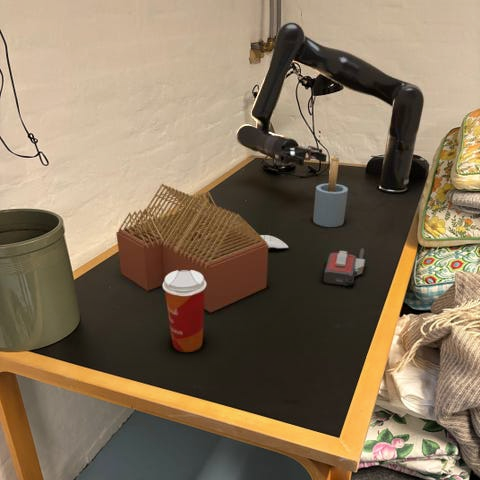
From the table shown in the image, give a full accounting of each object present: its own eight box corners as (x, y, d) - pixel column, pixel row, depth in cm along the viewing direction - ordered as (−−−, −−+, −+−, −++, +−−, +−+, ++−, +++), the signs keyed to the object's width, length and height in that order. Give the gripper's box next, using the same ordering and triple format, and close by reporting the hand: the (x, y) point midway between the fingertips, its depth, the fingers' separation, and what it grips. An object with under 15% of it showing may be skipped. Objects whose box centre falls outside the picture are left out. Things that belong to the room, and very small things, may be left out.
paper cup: (168, 333, 98) (163, 268, 90) (207, 331, 98) (205, 267, 91) (166, 356, 91) (160, 289, 84) (208, 355, 92) (206, 288, 84)
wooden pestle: (321, 215, 151) (327, 153, 141) (336, 216, 150) (344, 154, 140) (319, 220, 147) (326, 157, 137) (335, 222, 146) (343, 158, 137)
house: (120, 272, 119) (110, 193, 109) (197, 246, 133) (194, 173, 122) (193, 320, 102) (189, 231, 92) (273, 284, 115) (277, 203, 105)
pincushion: (289, 244, 134) (290, 224, 131) (287, 254, 129) (288, 233, 126) (244, 241, 136) (245, 221, 133) (241, 250, 131) (241, 230, 128)
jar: (314, 214, 153) (317, 182, 148) (344, 217, 152) (348, 184, 147) (311, 225, 146) (314, 191, 141) (343, 228, 144) (347, 194, 139)
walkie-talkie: (360, 290, 113) (366, 254, 129) (363, 273, 111) (368, 238, 127) (321, 285, 115) (332, 250, 131) (323, 268, 113) (333, 234, 129)
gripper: (263, 138, 153) (296, 150, 141) (299, 133, 159) (334, 144, 148) (262, 163, 157) (294, 176, 145) (297, 157, 163) (331, 169, 152)
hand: (314, 160), depth 146 cm, fingers open, 8 cm apart
